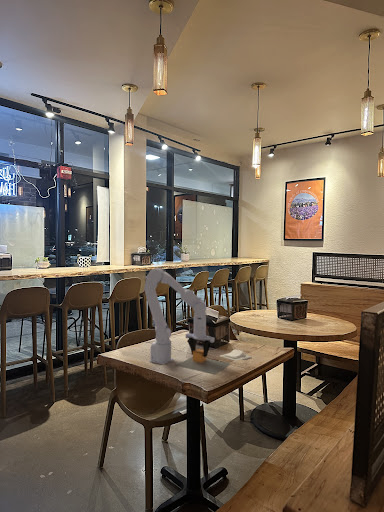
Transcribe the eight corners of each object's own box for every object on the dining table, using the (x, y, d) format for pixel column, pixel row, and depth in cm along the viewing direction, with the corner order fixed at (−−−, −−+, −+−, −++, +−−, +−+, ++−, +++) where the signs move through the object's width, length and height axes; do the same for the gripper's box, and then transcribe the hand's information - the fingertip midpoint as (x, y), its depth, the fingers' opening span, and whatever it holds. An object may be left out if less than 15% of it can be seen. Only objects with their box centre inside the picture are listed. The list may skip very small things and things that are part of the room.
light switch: (252, 351, 170) (236, 355, 161) (252, 360, 170) (236, 364, 161) (234, 347, 178) (218, 350, 169) (234, 355, 178) (218, 359, 169)
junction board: (175, 367, 155) (175, 365, 154) (193, 358, 168) (193, 356, 168) (214, 376, 144) (214, 374, 144) (231, 365, 158) (231, 363, 158)
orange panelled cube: (192, 360, 161) (192, 351, 161) (197, 358, 165) (197, 348, 165) (201, 362, 159) (201, 352, 159) (206, 359, 163) (206, 350, 162)
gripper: (182, 326, 162) (181, 354, 162) (209, 330, 154) (208, 360, 155) (190, 323, 168) (189, 351, 168) (216, 327, 160) (216, 356, 161)
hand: (199, 355), depth 162 cm, fingers open, 6 cm apart
